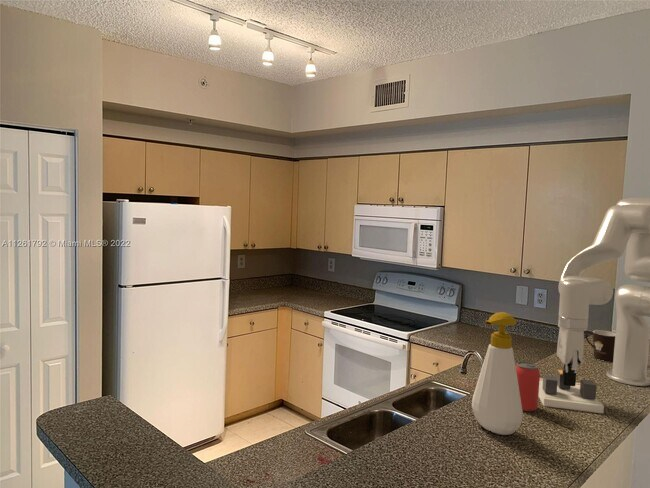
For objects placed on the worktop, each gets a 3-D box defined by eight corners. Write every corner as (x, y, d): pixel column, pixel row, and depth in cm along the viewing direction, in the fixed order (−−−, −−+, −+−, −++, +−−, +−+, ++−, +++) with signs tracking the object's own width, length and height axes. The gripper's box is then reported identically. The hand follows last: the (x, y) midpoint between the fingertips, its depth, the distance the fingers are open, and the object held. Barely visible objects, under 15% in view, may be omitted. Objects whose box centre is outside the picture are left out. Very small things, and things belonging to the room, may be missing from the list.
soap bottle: (457, 425, 118) (464, 309, 116) (482, 415, 124) (489, 306, 122) (504, 447, 108) (513, 320, 106) (528, 435, 114) (537, 316, 112)
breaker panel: (532, 383, 150) (533, 364, 150) (584, 389, 147) (585, 369, 146) (543, 405, 133) (545, 383, 132) (603, 413, 129) (605, 390, 129)
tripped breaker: (556, 383, 145) (557, 369, 144) (566, 384, 144) (567, 370, 144) (559, 387, 141) (560, 373, 141) (570, 389, 140) (571, 374, 140)
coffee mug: (621, 363, 176) (624, 336, 175) (598, 362, 176) (600, 335, 175) (604, 353, 187) (606, 328, 187) (582, 352, 188) (584, 327, 187)
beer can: (539, 413, 127) (543, 369, 126) (513, 410, 129) (517, 367, 128) (534, 404, 134) (537, 362, 133) (509, 401, 135) (512, 359, 134)
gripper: (552, 315, 145) (549, 374, 146) (564, 328, 130) (560, 393, 132) (579, 317, 143) (575, 377, 145) (595, 330, 129) (590, 396, 130)
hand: (568, 384), depth 138 cm, fingers closed
